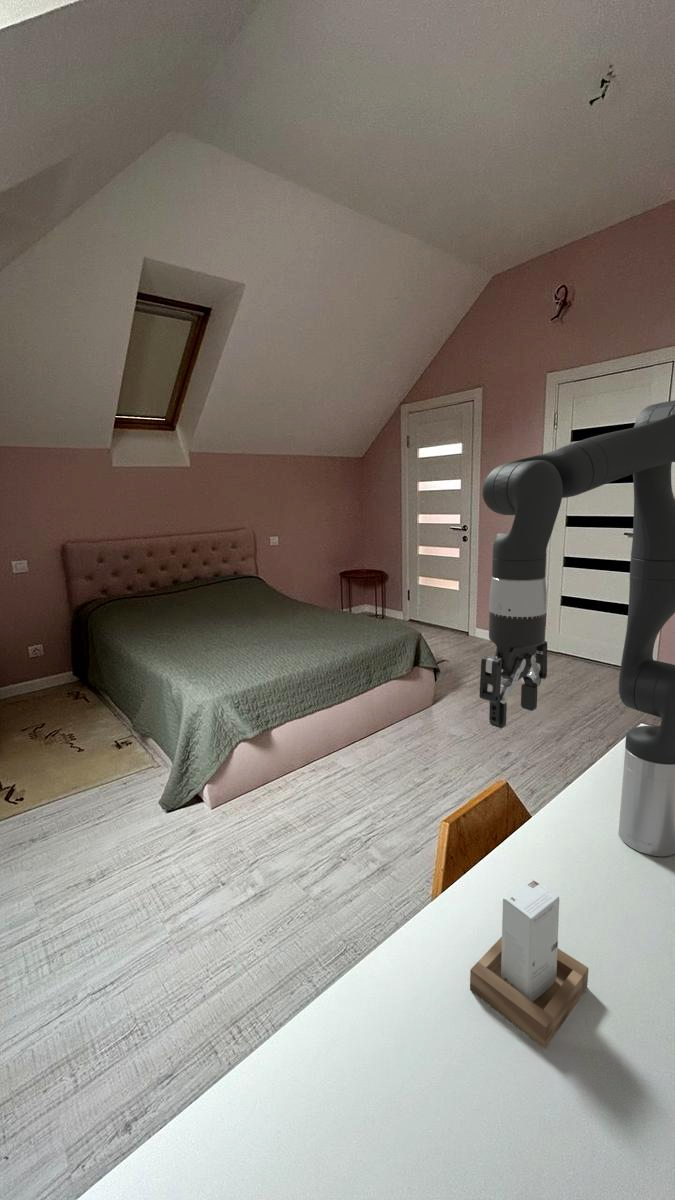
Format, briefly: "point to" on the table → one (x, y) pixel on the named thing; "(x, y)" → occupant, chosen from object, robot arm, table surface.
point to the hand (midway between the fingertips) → (513, 717)
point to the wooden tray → (527, 1015)
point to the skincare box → (530, 939)
